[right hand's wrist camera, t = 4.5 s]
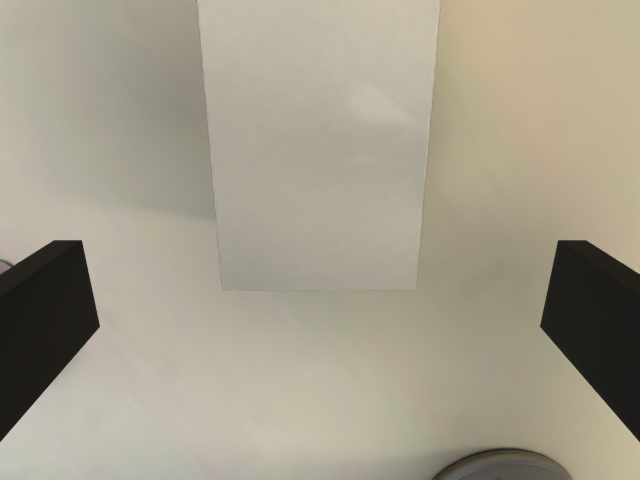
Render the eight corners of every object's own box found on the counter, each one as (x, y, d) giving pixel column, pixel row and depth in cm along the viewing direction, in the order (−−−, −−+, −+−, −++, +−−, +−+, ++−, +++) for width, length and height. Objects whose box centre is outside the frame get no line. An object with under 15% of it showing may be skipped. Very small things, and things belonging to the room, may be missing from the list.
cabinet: (235, -53, 26) (184, -128, 16) (403, -53, 26) (452, -129, 16) (251, 226, 32) (221, 291, 22) (387, 226, 32) (416, 291, 22)
